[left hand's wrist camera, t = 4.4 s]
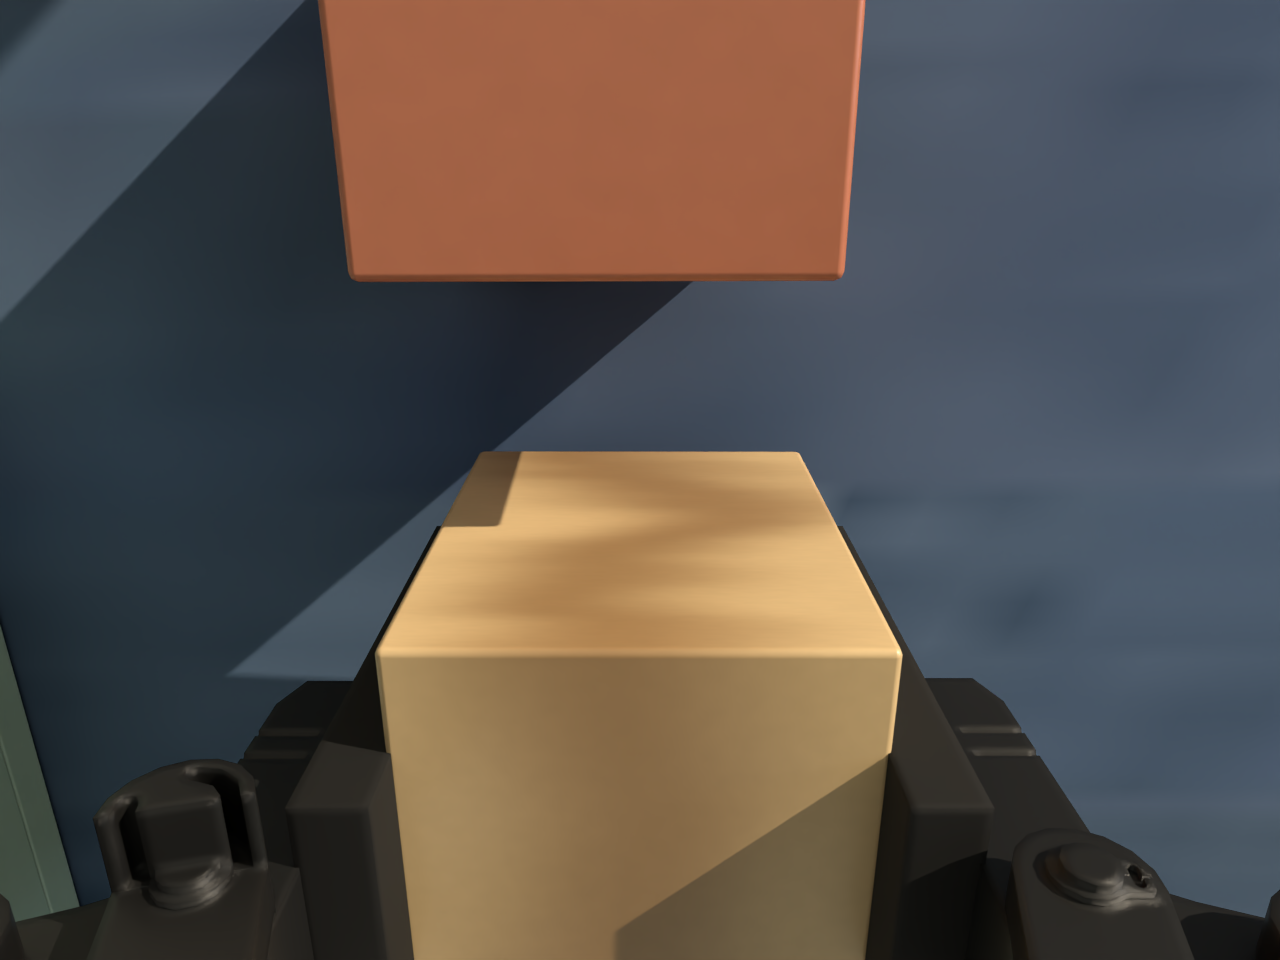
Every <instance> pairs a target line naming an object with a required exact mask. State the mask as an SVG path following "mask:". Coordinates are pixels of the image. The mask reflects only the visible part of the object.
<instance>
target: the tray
mask: <svg viewBox="0 0 1280 960" xmlns="http://www.w3.org/2000/svg"><path fill="white" fill-rule="evenodd" d="M0 894H1V895H3V896H4V897H5V898H6V899H7V900H8V901H9V903H10V906H11V909H12V912H13V916H14V919H15V922H17V921H21V920H25V919H30V918H34V917H38V916H42V915H47V914H51V913H55V912H59V911H63V910H68V909H72V908H76V907H80V906H79V902H78V899H77V895H76V892H75V888H74V884H73V881H72V877H71V874H70V870H69V867H68V863H67V860H66V856H65V853H64V849H63V845H62V842H61V838H60V835H59V831H58V828H57V824H56V821H55V817H54V814H53V810H52V807H51V803H50V799H49V796H48V792H47V789H46V785H45V782H44V778H43V775H42V771H41V768H40V764H39V760H38V757H37V753H36V750H35V746H34V743H33V739H32V736H31V732H30V729H29V725H28V721H27V718H26V714H25V711H24V707H23V704H22V700H21V697H20V693H19V690H18V686H17V682H16V679H15V675H14V672H13V668H12V665H11V661H10V658H9V654H8V651H7V647H6V644H5V640H4V636H3V633H2V629H1V626H0Z"/></svg>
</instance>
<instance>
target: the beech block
mask: <svg viewBox="0 0 1280 960" xmlns="http://www.w3.org/2000/svg"><path fill="white" fill-rule="evenodd" d="M902 656H903V654H902V651H901V649H900V647H899V645H898V643H897V641H896V639H895V637H894V635H893V633H892V631H891V629H890V628H889V626H888V624H887V622H886V620H885V618H884V616H883V614H882V612H881V610H880V608H879V606H878V604H877V602H876V601H875V599H874V597H873V595H872V593H871V591H870V589H869V587H868V585H867V583H866V581H865V579H864V577H863V575H862V574H861V572H860V570H859V568H858V566H857V564H856V562H855V560H854V558H853V556H852V554H851V552H850V550H849V549H848V547H847V545H846V543H845V541H844V539H843V537H842V535H841V533H840V531H839V529H838V527H837V525H836V523H835V522H834V520H833V518H832V516H831V514H830V512H829V510H828V508H827V506H826V504H825V502H824V500H823V498H822V496H821V495H820V493H819V491H818V489H817V487H816V485H815V483H814V481H813V479H812V477H811V475H810V473H809V471H808V469H807V468H806V466H805V464H804V462H803V460H802V458H801V456H800V454H799V453H797V452H481V453H480V454H479V456H478V458H477V460H476V462H475V464H474V465H473V467H472V469H471V471H470V473H469V475H468V477H467V479H466V481H465V482H464V484H463V486H462V488H461V490H460V492H459V494H458V496H457V498H456V499H455V501H454V503H453V505H452V507H451V509H450V511H449V513H448V515H447V516H446V518H445V520H444V522H443V524H442V526H441V528H440V530H439V532H438V534H437V535H436V537H435V539H434V541H433V543H432V545H431V547H430V549H429V551H428V552H427V554H426V556H425V558H424V560H423V562H422V564H421V566H420V568H419V569H418V571H417V573H416V575H415V577H414V579H413V581H412V583H411V585H410V586H409V588H408V590H407V592H406V594H405V596H404V598H403V600H402V602H401V603H400V605H399V607H398V609H397V611H396V613H395V615H394V617H393V619H392V621H391V622H390V624H389V626H388V628H387V630H386V632H385V634H384V636H383V638H382V639H381V641H380V643H379V645H378V647H377V649H376V652H375V660H376V668H377V677H378V686H379V694H380V703H381V712H382V721H383V729H384V738H385V747H386V752H387V753H390V754H391V761H392V769H393V778H394V787H395V796H396V804H397V813H398V822H399V831H400V840H401V848H402V857H403V866H404V875H405V884H406V892H407V901H408V910H409V919H410V928H411V936H412V945H413V954H414V960H865V956H866V947H867V939H868V930H869V921H870V912H871V903H872V895H873V886H874V877H875V868H876V859H877V851H878V842H879V833H880V824H881V815H882V807H883V798H884V789H885V780H886V771H887V763H888V754H889V753H891V750H892V742H893V733H894V725H895V716H896V707H897V699H898V690H899V682H900V673H901V664H902Z"/></svg>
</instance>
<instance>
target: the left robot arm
mask: <svg viewBox="0 0 1280 960" xmlns="http://www.w3.org/2000/svg"><path fill="white" fill-rule="evenodd" d="M837 527H838V529H839V531H840V533H841V535H842V537H843V539H844V541H845V543H846V545H847V547H848V549H849V550H850V552H851V554H852V556H853V558H854V560H855V562H856V564H857V566H858V568H859V570H860V572H861V574H862V575H863V577H864V579H865V581H866V583H867V585H868V587H869V589H870V591H871V593H872V595H873V597H874V599H875V601H876V602H877V604H878V606H879V608H880V610H881V612H882V614H883V616H884V618H885V620H886V622H887V624H888V626H889V628H890V629H891V631H892V633H893V635H894V637H895V639H896V641H897V643H898V645H899V647H900V649H901V651H902V654H903V656H902V664H901V673H900V682H899V690H898V699H897V707H896V716H895V725H894V733H893V742H892V750H891V753H889V754H888V763H887V771H886V780H885V789H884V798H883V807H882V815H881V824H880V833H879V842H878V851H877V859H876V868H875V877H874V886H873V895H872V903H871V912H870V921H869V930H868V939H867V947H866V956H865V960H1280V890H1279V891H1278V892H1277V893H1276V894H1274V895H1273V896H1272V897H1271V900H1270V903H1269V906H1268V910H1267V913H1266V916H1265V918H1262V917H1258V916H1254V915H1249V914H1245V913H1241V912H1237V911H1232V910H1228V909H1224V908H1220V907H1215V906H1211V905H1207V904H1203V903H1198V902H1195V901H1191V900H1188V899H1185V898H1182V897H1178V896H1175V895H1172V894H1169V892H1168V890H1167V889H1166V887H1165V886H1164V884H1163V882H1162V881H1161V879H1160V878H1159V876H1158V875H1157V873H1156V872H1155V870H1154V869H1153V868H1151V867H1150V866H1149V865H1148V864H1147V863H1145V862H1144V861H1143V860H1142V859H1141V858H1139V857H1138V856H1137V855H1136V854H1135V853H1134V852H1132V851H1131V850H1129V849H1127V848H1125V847H1123V846H1121V845H1119V844H1117V843H1115V842H1113V841H1111V840H1109V839H1107V838H1105V837H1103V836H1099V835H1096V834H1092V833H1090V832H1089V830H1088V829H1087V827H1086V826H1085V824H1084V823H1083V821H1082V820H1081V818H1080V817H1079V815H1078V813H1077V812H1076V810H1075V809H1074V807H1073V806H1072V804H1071V803H1070V801H1069V800H1068V798H1067V797H1066V795H1065V794H1064V792H1063V791H1062V789H1061V788H1060V786H1059V785H1058V783H1057V782H1056V780H1055V779H1054V777H1053V776H1052V774H1051V773H1050V771H1049V770H1048V768H1047V767H1046V765H1045V763H1044V762H1043V760H1042V759H1041V757H1040V756H1036V750H1035V748H1034V747H1033V745H1032V744H1031V742H1030V741H1029V739H1028V738H1027V736H1026V735H1025V733H1021V727H1020V726H1019V724H1018V723H1017V721H1016V720H1015V718H1014V717H1013V715H1012V713H1011V712H1010V710H1009V709H1008V707H1007V706H1006V704H1005V703H1004V701H1002V700H1001V699H1000V698H998V697H997V696H996V695H994V694H993V693H992V692H990V691H989V690H987V689H986V688H985V687H983V686H982V685H981V684H979V683H978V682H977V681H975V680H974V679H973V678H924V676H923V675H922V673H921V671H920V669H919V667H918V665H917V663H916V662H915V660H914V658H913V656H912V654H911V652H910V650H909V649H908V647H907V645H906V643H905V641H904V639H903V637H902V636H901V634H900V632H899V630H898V628H897V626H896V624H895V623H894V621H893V619H892V617H891V615H890V613H889V611H888V610H887V608H886V606H885V604H884V602H883V600H882V598H881V597H880V595H879V593H878V591H877V589H876V587H875V585H874V584H873V582H872V580H871V578H870V576H869V574H868V572H867V571H866V569H865V567H864V565H863V563H862V561H861V560H860V558H859V556H858V554H857V552H856V550H855V548H854V547H853V545H852V543H851V541H850V539H849V537H848V535H847V534H846V532H845V530H844V528H843V526H837ZM440 528H441V526H437V527H436V529H435V531H434V533H433V534H432V536H431V538H430V540H429V542H428V544H427V546H426V547H425V549H424V551H423V553H422V555H421V557H420V559H419V560H418V562H417V564H416V566H415V568H414V570H413V571H412V573H411V575H410V577H409V579H408V581H407V583H406V584H405V586H404V588H403V590H402V592H401V594H400V596H399V597H398V599H397V601H396V603H395V605H394V607H393V609H392V610H391V612H390V614H389V616H388V618H387V620H386V622H385V623H384V625H383V627H382V629H381V631H380V633H379V635H378V636H377V638H376V640H375V642H374V644H373V646H372V647H371V649H370V651H369V653H368V655H367V657H366V659H365V660H364V662H363V664H362V666H361V668H360V670H359V672H358V673H357V675H356V677H355V679H354V681H307V682H306V683H304V684H303V685H302V686H300V687H299V688H298V689H296V690H295V691H294V692H292V693H291V694H289V695H288V696H287V697H285V698H284V699H283V700H281V701H280V702H279V703H277V704H276V706H275V707H274V709H273V710H272V712H271V713H270V715H269V716H268V718H267V719H266V721H265V722H264V724H263V725H262V727H261V728H260V730H259V736H255V738H254V739H253V741H252V742H251V744H250V745H249V747H248V748H247V750H246V751H245V753H244V759H240V760H239V762H238V763H237V764H236V763H232V762H228V761H224V760H220V759H202V760H188V761H184V762H180V763H176V764H172V765H168V766H164V767H160V768H158V769H156V770H154V771H151V772H149V773H147V774H145V775H143V776H141V777H138V778H136V779H134V780H132V781H130V782H129V783H128V784H126V785H125V786H124V787H122V788H121V789H120V790H118V791H117V792H116V793H114V794H113V795H112V796H110V797H109V798H108V799H107V800H106V801H105V803H104V804H103V805H102V807H101V808H100V809H99V811H98V812H97V813H96V815H95V816H94V817H93V821H94V825H95V829H96V833H97V837H98V841H99V845H100V848H101V852H102V856H103V860H104V864H105V868H106V872H107V876H108V880H109V884H110V888H111V892H112V893H111V896H110V898H107V899H104V900H101V901H97V902H94V903H91V904H88V905H85V906H80V907H76V908H72V909H68V910H63V911H59V912H55V913H51V914H47V915H42V916H38V917H34V918H30V919H25V920H21V921H17V922H15V919H14V916H13V912H12V909H11V906H10V903H9V901H8V900H7V899H6V898H5V897H4V896H3V895H1V894H0V960H414V954H413V945H412V936H411V928H410V919H409V910H408V901H407V892H406V884H405V875H404V866H403V857H402V848H401V840H400V831H399V822H398V813H397V804H396V796H395V787H394V778H393V769H392V761H391V754H390V753H387V752H386V747H385V738H384V729H383V721H382V712H381V703H380V694H379V686H378V677H377V668H376V660H375V652H376V649H377V647H378V645H379V643H380V641H381V639H382V638H383V636H384V634H385V632H386V630H387V628H388V626H389V624H390V622H391V621H392V619H393V617H394V615H395V613H396V611H397V609H398V607H399V605H400V603H401V602H402V600H403V598H404V596H405V594H406V592H407V590H408V588H409V586H410V585H411V583H412V581H413V579H414V577H415V575H416V573H417V571H418V569H419V568H420V566H421V564H422V562H423V560H424V558H425V556H426V554H427V552H428V551H429V549H430V547H431V545H432V543H433V541H434V539H435V537H436V535H437V534H438V532H439V530H440Z"/></svg>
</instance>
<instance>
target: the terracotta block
mask: <svg viewBox="0 0 1280 960" xmlns="http://www.w3.org/2000/svg"><path fill="white" fill-rule="evenodd" d="M318 5H319V14H320V23H321V32H322V41H323V50H324V59H325V68H326V77H327V86H328V95H329V105H330V114H331V123H332V132H333V141H334V150H335V159H336V168H337V177H338V186H339V195H340V204H341V213H342V222H343V231H344V240H345V249H346V258H347V267H348V273H349V275H350V277H351V279H353V280H355V281H358V282H546V281H834V280H837V279H839V278H841V277H842V275H843V273H844V270H845V257H846V244H847V231H848V218H849V205H850V193H851V180H852V167H853V154H854V141H855V128H856V115H857V103H858V90H859V77H860V64H861V51H862V38H863V25H864V13H865V0H318Z"/></svg>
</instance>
